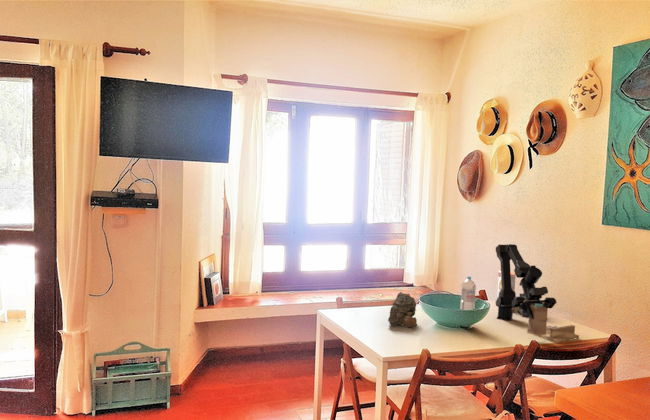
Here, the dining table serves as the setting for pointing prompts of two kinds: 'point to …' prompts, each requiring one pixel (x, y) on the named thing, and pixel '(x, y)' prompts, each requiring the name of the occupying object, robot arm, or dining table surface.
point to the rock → (403, 311)
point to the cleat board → (558, 333)
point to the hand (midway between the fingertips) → (539, 319)
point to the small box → (522, 310)
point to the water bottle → (468, 295)
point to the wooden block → (538, 319)
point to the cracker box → (501, 283)
